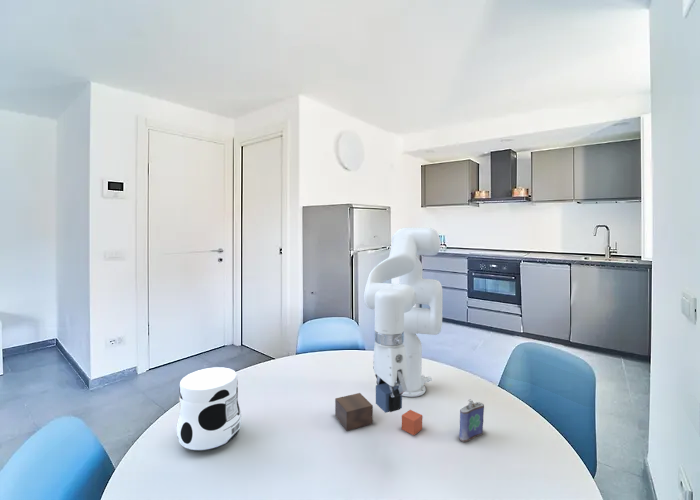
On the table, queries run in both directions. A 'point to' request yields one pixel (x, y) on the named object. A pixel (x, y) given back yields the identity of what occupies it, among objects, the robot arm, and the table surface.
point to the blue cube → (384, 396)
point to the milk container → (208, 409)
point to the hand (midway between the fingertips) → (388, 404)
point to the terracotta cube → (412, 422)
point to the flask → (471, 421)
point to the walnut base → (353, 411)
